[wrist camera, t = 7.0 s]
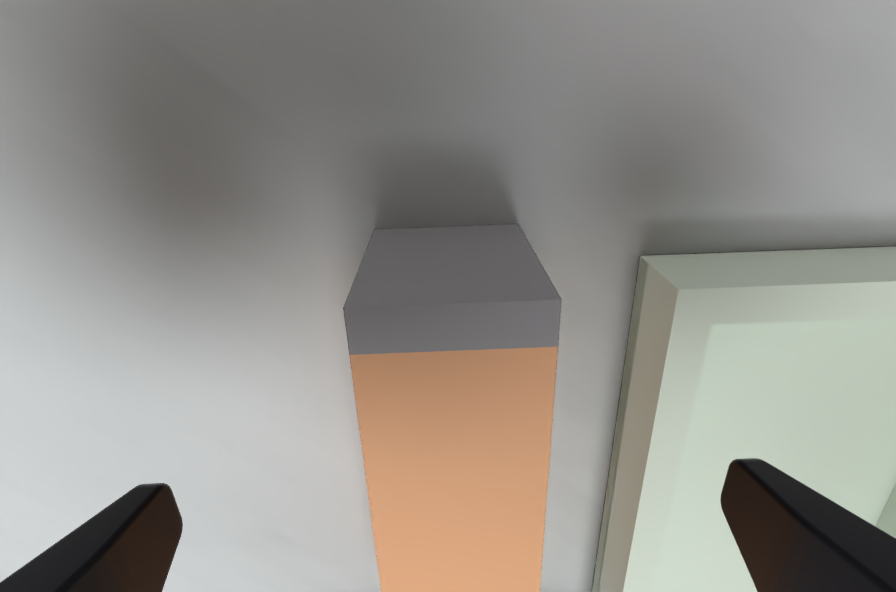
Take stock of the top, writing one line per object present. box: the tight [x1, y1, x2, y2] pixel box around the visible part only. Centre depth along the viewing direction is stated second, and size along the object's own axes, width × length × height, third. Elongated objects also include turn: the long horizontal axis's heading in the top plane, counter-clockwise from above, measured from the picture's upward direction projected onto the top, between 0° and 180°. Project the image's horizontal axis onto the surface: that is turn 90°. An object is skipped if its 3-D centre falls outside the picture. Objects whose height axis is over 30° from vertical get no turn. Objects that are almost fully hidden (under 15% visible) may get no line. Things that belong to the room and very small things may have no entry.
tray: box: [592, 247, 896, 592], centre depth 17 cm, size 11×22×2 cm, turn 2°
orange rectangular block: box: [343, 224, 561, 592], centre depth 14 cm, size 4×14×5 cm, turn 2°
